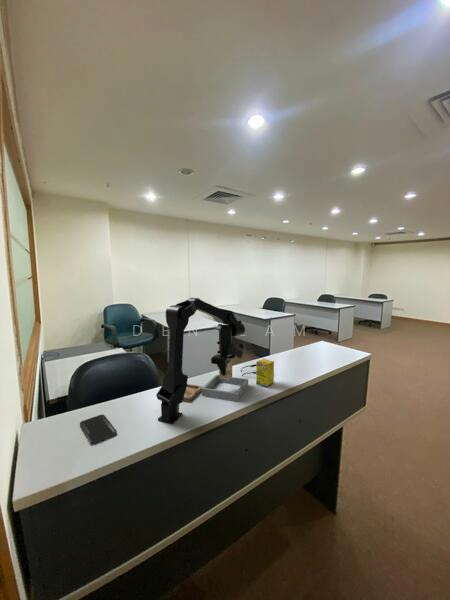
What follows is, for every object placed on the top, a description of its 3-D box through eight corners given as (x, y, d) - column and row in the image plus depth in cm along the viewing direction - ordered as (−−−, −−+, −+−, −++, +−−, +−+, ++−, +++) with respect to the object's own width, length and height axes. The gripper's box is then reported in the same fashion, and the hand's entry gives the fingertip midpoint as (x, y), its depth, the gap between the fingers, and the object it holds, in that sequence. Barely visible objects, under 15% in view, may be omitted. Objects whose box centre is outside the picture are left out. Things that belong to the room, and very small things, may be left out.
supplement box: (256, 384, 115) (256, 361, 114) (263, 380, 120) (263, 358, 119) (266, 388, 111) (266, 364, 110) (274, 383, 115) (274, 361, 115)
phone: (103, 413, 90) (117, 432, 79) (103, 416, 90) (117, 435, 79) (78, 422, 85) (90, 443, 74) (78, 425, 85) (90, 447, 74)
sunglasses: (266, 377, 123) (265, 367, 123) (242, 381, 123) (241, 371, 122) (262, 369, 134) (261, 360, 133) (240, 373, 133) (239, 364, 133)
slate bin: (237, 401, 99) (237, 394, 99) (201, 395, 105) (201, 388, 105) (248, 385, 114) (248, 379, 114) (216, 380, 120) (216, 374, 119)
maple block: (228, 379, 106) (228, 361, 105) (219, 378, 108) (219, 360, 107) (232, 376, 110) (232, 358, 110) (222, 374, 112) (222, 357, 111)
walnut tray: (189, 402, 99) (189, 398, 99) (163, 397, 103) (163, 394, 103) (202, 389, 110) (202, 386, 110) (179, 385, 114) (179, 382, 114)
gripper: (236, 345, 96) (236, 384, 97) (249, 335, 113) (249, 368, 115) (210, 343, 100) (210, 380, 101) (226, 333, 117) (226, 365, 119)
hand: (225, 373), depth 109 cm, fingers closed on maple block, 4 cm apart
